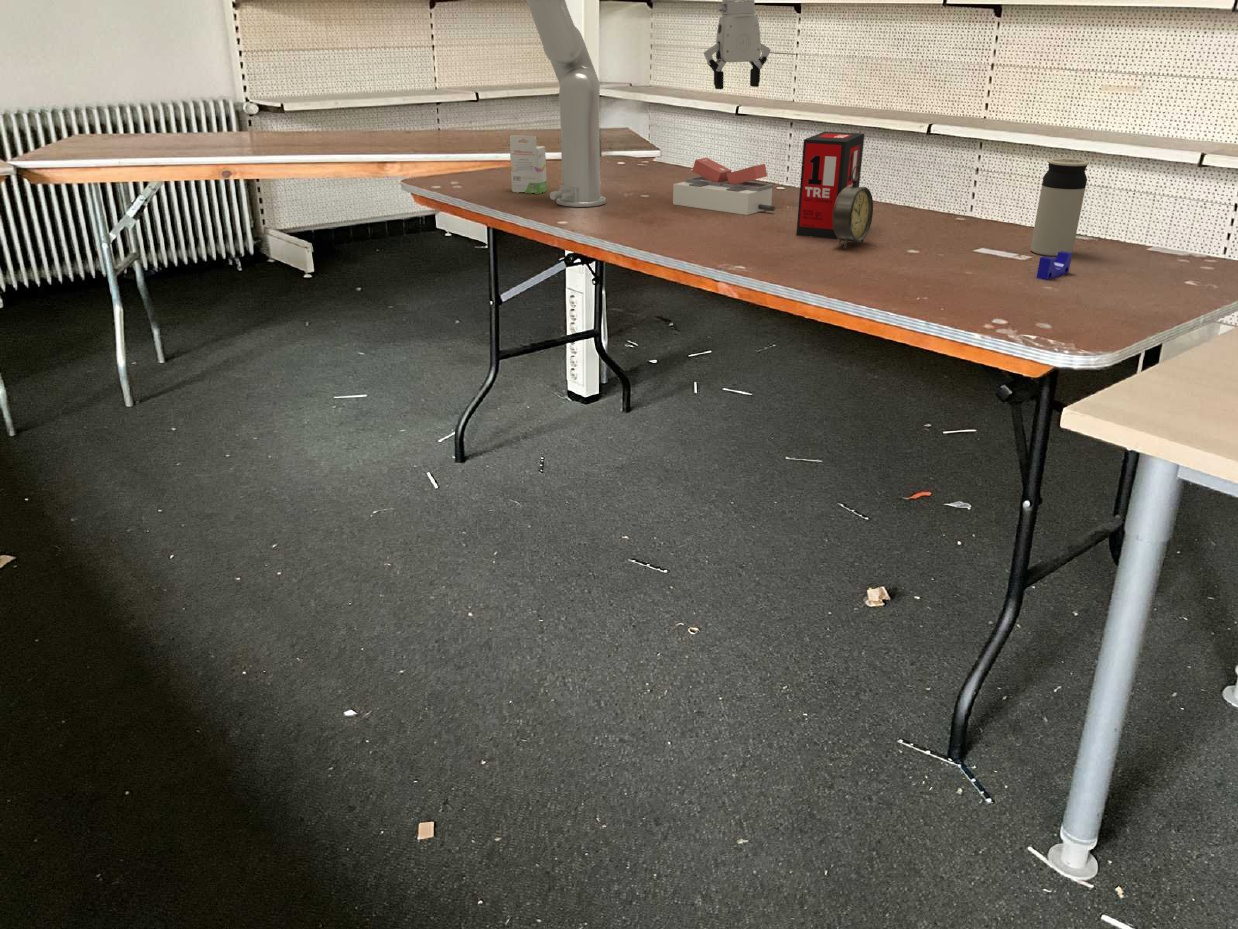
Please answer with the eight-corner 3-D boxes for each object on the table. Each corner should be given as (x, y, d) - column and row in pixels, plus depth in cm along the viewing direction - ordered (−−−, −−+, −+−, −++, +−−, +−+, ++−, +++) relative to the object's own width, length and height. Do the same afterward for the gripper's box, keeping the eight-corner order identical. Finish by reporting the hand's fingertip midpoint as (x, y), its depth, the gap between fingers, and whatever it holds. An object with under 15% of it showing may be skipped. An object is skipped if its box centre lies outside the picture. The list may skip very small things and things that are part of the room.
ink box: (547, 191, 262) (546, 134, 256) (538, 194, 258) (537, 136, 252) (520, 189, 266) (517, 132, 260) (510, 192, 262) (508, 134, 255)
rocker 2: (756, 178, 234) (753, 165, 233) (729, 185, 239) (726, 173, 238) (767, 176, 237) (764, 163, 236) (740, 183, 243) (737, 170, 242)
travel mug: (1076, 257, 193) (1095, 163, 186) (1034, 256, 194) (1051, 162, 187) (1066, 249, 200) (1084, 158, 193) (1026, 247, 202) (1042, 157, 194)
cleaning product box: (836, 239, 209) (845, 141, 200) (796, 235, 212) (803, 139, 204) (855, 225, 222) (864, 133, 214) (817, 221, 226) (824, 131, 217)
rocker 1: (716, 184, 241) (720, 172, 239) (692, 170, 244) (695, 159, 243) (727, 181, 245) (731, 170, 243) (703, 168, 248) (707, 157, 246)
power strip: (761, 217, 231) (763, 191, 228) (673, 204, 245) (673, 180, 243) (785, 210, 238) (786, 185, 236) (697, 198, 253) (698, 175, 251)
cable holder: (1050, 270, 185) (1054, 249, 183) (1068, 274, 182) (1072, 252, 180) (1028, 277, 180) (1032, 255, 178) (1046, 281, 177) (1050, 259, 176)
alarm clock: (848, 251, 198) (857, 169, 191) (824, 248, 201) (832, 166, 194) (871, 242, 206) (880, 162, 199) (847, 239, 209) (855, 160, 202)
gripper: (712, 10, 222) (712, 90, 229) (778, 8, 228) (775, 86, 235) (697, 11, 228) (697, 89, 235) (762, 8, 234) (760, 84, 241)
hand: (736, 87), depth 235 cm, fingers open, 9 cm apart
